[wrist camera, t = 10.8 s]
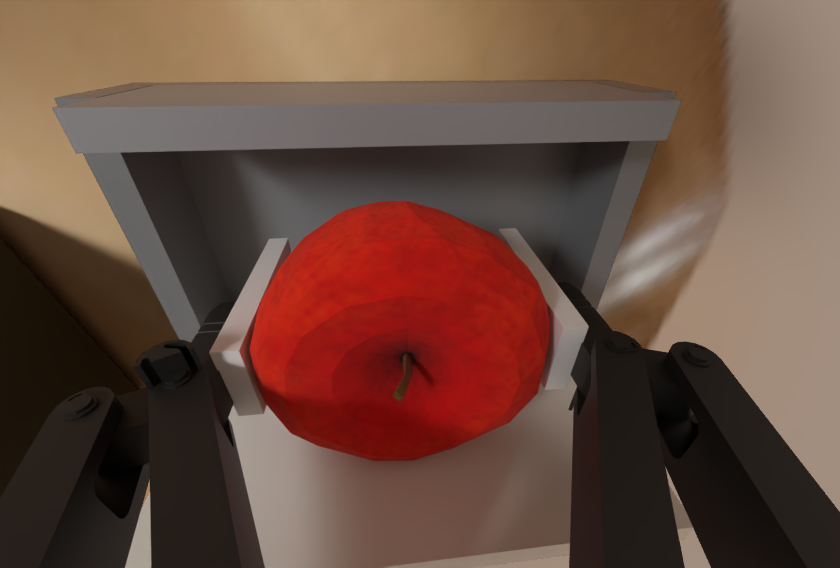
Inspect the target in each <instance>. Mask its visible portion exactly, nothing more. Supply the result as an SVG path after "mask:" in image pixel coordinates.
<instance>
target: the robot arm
mask: <svg viewBox="0 0 840 568" xmlns="http://www.w3.org/2000/svg"><path fill="white" fill-rule="evenodd" d="M498 238H499V239H501V240H502V241H503V242H504V243H505V244H506V245H507V246H508V247H509V248H510V249H511V250H512V251H513V252H514V253H515V254H516V255H517V256H518V257H519V258H520V259H521V260H522V261H523V262H524V263H525V264H526V265H527V267H528V268H529V270H530V271H531V272H532V274H533V275H534V277H535V278H536V279H537V281H538V283H539V285H540V288H541V290H542V293H543V296H544V298H545V301H546V303H547V309H548V315H549V321H550V337H549V348H548V352H547V356H546V360H545V365H544V369H543V373H542V377H541V383H542V386H543V388H544V390H553V389H564V388H567V386H568V383H569V380H570V378H571V377H572V378H573V380H574V382H575V383H576V385H577V388H576V390H575V393H574V395H573V398H572V401H571V403H570V406H569V409H568V410H570V411H572V409H573V407H574V409H573V446H572V484H571V521H570V558H569V559H570V560H569V568H685V567H684V562H683V557H682V552H681V546H680V541H679V536H678V531H677V525H676V520H675V515H674V510H673V505H672V499H671V494H670V489H669V484H668V479H667V474H666V468H667V471H668V473H669V475H670V477H671V479H672V482H673V484H674V486H675V488H676V490H677V493H678V495H679V497H680V499H681V501H682V504H683V506H684V508H685V511H686V513H687V515H688V517H689V519H690V522H691V524H692V526H693V528H694V530H695V532H696V535H697V537H698V539H699V542H700V544H701V546H702V548H703V550H704V553H705V555H706V557H707V559H708V561H709V564H710V566H711V568H840V512H839V511H838V509H837V508H836V507H835V505H834V504H833V503H832V502H831V500H830V499H829V498H828V496H827V495H826V494H825V492H824V491H823V490H822V489H821V488H820V486H819V485H818V484H817V482H816V481H815V480H814V478H813V477H812V476H811V474H810V473H809V472H808V471H807V469H806V468H805V467H804V466H803V464H802V463H801V462H800V460H799V459H798V458H797V456H796V455H795V454H794V453H793V451H792V450H791V449H790V447H789V446H788V445H787V444H786V442H785V441H784V440H783V439H782V437H781V436H780V435H779V433H778V432H777V431H776V429H775V428H774V427H773V425H772V424H771V423H770V422H769V420H768V419H767V418H766V417H765V415H764V414H763V413H762V412H761V410H760V409H759V407H758V406H757V405H756V404H755V402H754V401H753V400H752V398H751V397H750V396H749V395H748V393H747V392H746V391H745V390H744V388H743V387H742V386H741V384H740V383H739V382H738V380H737V379H736V378H735V377H734V375H733V374H732V373H731V371H730V370H729V369H728V368H727V366H726V365H725V364H724V362H723V361H722V360H721V359H720V358H719V357H718V356H717V355H716V354H715V353H714V352H712V351H710V350H709V349H707V348H705V347H703V346H700V345H698V344H695V343H690V342H677V343H675V344H673V345H672V347H671V348H670V350H669V352H668V353H667V352H661V351H654V350H648V349H643V348H641V346H640V344H639V343H638V342H637V341H636V340H635V339H633V338H631V337H630V336H628V335H626V334H623V333H620V332H617V331H612V329H611V328H610V327H609V326H608V324H607V323H606V322H605V321H604V320H603V318H602V317H601V316H600V315H599V313H598V312H597V311H596V310H595V309H594V307H592V305H591V304H590V302H589V301H588V300H586V297H585V296H584V295H583V294H582V293H581V291H580V290H579V289H578V288H576V287H574V286H573V285H571V284H570V283H568V282H557V283H556V282H555V280H554V279H553V277H552V276H551V275H550V273H549V272H548V271H547V269H546V268H545V267H544V265H543V264H542V263H541V261H540V260H539V259H538V257H537V256H536V255H535V253H534V252H533V251H532V249H531V248H530V247H529V245H528V244H527V243H526V241H525V240H524V239H523V237H522V236H521V235H520V233H519V232H518V231H517V229H516V228H505V229H499V232H498ZM290 253H291V248H290V244H289V240H288V238H274V239H269V240H268V242H267V244H266V246H265V248H264V250H263V252H262V254H261V255H260V257H259V259H258V261H257V263H256V265H255V267H254V269H253V271H252V272H251V274H250V276H249V278H248V280H247V282H246V284H245V286H244V288H243V289H242V291H241V293H240V295H239V297H238V299H237V301H236V302H227V303H220V304H219V305H218V306H217V307H215V308H214V309H213V310H212V311H211V312H209V314H208V316H207V317H206V319H205V321H204V322H203V325H201V327H200V329H199V330H198V334H196V335H195V337H194V339H193V340H192V342H188V341H186V340H171V341H166V342H163V343H160V344H158V345H156V346H153V347H152V348H150V349H149V350H147V351H146V352H144V353H143V354H142V355H141V356H140V357H139V358H138V360H137V361H136V364H135V367H134V368H135V369H136V371H137V372H138V374H139V376H140V377H141V379H142V380H143V382H144V383H145V385H146V386H147V387H146V388H143V389H140V390H136V391H133V392H130V393H126V394H123V395H119V396H115V395H114V393H113V392H112V390H111V389H110V388H106V387H92V388H89V389H86V390H83V391H80V392H78V393H76V394H74V395H72V396H70V397H68V398H66V399H65V400H64V401H63V402H61V403H60V404H59V405H57V406H56V407H55V409H54V410H53V411H52V412H51V413H50V415H49V416H48V418H47V419H46V421H45V423H44V425H43V426H42V428H41V430H40V431H39V433H38V435H37V436H36V438H35V440H34V441H33V443H32V445H31V446H30V448H29V450H28V452H27V453H26V455H25V457H24V458H23V460H22V462H21V463H20V465H19V467H18V468H17V470H16V472H15V474H14V475H13V477H12V479H11V480H10V482H9V484H8V485H7V487H6V489H5V490H4V492H3V494H2V495H1V497H0V568H125V565H126V562H127V558H128V555H129V551H130V547H131V544H132V540H133V537H134V533H135V529H136V526H137V522H138V519H139V515H140V511H141V508H142V504H143V501H144V497H145V493H146V490H147V486H148V483H149V479H150V518H151V568H265V566H264V562H263V557H262V553H261V549H260V544H259V540H258V536H257V531H256V527H255V523H254V518H253V514H252V510H251V505H250V501H249V497H248V492H247V488H246V484H245V479H244V475H243V471H242V466H241V462H240V458H239V453H238V449H237V445H236V441H235V436H234V432H233V428H232V424H231V422H230V420H229V418H228V417H229V414H230V412H231V409H232V406H234V408H235V410H236V412H237V414H238V416H247V415H258V414H264V412H265V409H266V403H265V401H264V399H263V397H262V395H261V392H260V390H259V388H258V386H257V382H256V377H255V373H254V368H253V364H252V359H251V355H250V350H249V349H250V344H251V340H252V335H253V331H254V326H255V322H256V317H257V313H258V308H259V304H260V302H261V301H262V299H263V297H264V295H265V293H266V291H267V290H268V288H269V286H270V284H271V282H272V281H273V279H274V277H275V275H276V273H277V271H278V270H279V268H280V267H281V265H282V264H283V263H284V261H285V260H286V259H287V257H288V256H289V255H290ZM665 466H666V468H665Z"/></svg>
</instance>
